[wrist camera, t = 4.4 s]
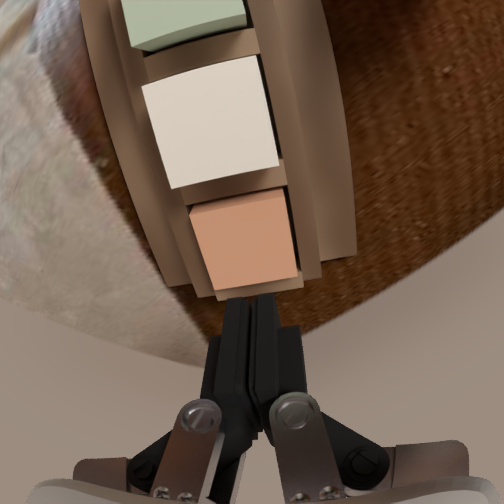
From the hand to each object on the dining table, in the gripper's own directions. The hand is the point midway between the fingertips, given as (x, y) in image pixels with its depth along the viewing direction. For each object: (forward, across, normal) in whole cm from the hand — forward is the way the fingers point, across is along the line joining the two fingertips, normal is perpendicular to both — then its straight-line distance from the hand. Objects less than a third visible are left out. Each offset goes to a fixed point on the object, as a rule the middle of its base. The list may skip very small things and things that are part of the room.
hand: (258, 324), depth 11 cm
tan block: (+9, +1, 0) cm, 9 cm away
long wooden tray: (+11, +1, -7) cm, 13 cm away
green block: (+8, +1, -14) cm, 16 cm away
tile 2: (+8, +1, -7) cm, 10 cm away
